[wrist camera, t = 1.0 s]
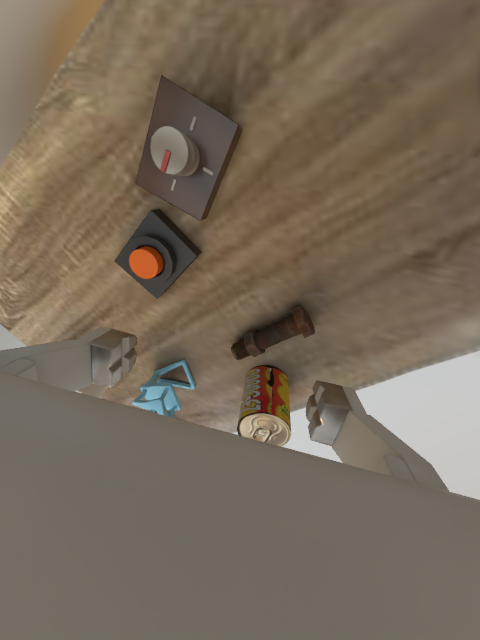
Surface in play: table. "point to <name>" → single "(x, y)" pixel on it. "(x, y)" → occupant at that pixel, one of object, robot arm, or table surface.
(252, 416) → the beverage can
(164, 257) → the button box
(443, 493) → the robot arm
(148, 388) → the chair
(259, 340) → the bolt
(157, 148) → the knob
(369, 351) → the table surface
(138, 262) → the button
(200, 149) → the dial base
